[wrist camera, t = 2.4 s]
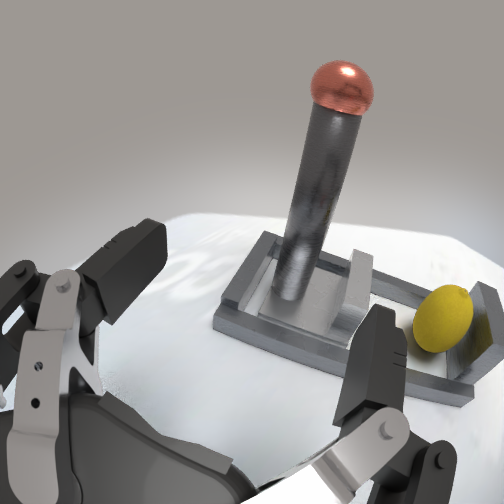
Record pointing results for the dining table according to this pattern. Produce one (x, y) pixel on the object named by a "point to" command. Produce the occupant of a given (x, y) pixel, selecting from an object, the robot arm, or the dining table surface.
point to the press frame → (335, 358)
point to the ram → (323, 217)
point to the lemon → (443, 318)
